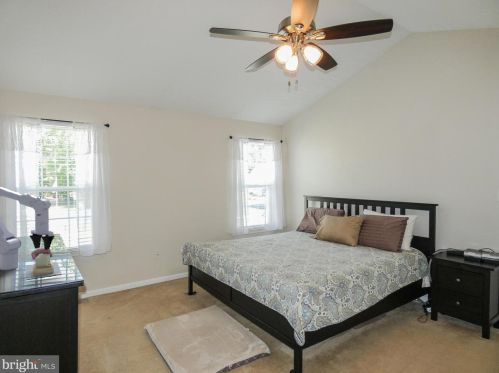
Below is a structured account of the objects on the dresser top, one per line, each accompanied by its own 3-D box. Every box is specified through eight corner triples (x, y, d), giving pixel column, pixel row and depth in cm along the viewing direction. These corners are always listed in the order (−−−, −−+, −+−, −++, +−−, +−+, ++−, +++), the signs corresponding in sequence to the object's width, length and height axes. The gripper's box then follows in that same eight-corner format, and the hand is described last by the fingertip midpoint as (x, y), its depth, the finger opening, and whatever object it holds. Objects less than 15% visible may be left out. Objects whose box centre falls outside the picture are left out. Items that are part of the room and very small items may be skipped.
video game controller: (51, 259, 179) (49, 248, 180) (53, 257, 176) (51, 245, 178) (31, 262, 171) (29, 251, 173) (33, 260, 168) (31, 248, 170)
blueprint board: (25, 267, 156) (25, 259, 156) (57, 263, 164) (57, 255, 164) (25, 280, 137) (25, 271, 137) (61, 274, 145) (61, 266, 145)
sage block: (40, 263, 148) (39, 254, 147) (50, 263, 149) (49, 254, 148) (36, 268, 144) (35, 258, 143) (46, 267, 145) (45, 258, 144)
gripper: (24, 222, 153) (24, 249, 153) (43, 224, 147) (43, 251, 148) (38, 221, 159) (38, 246, 160) (57, 222, 154) (57, 248, 154)
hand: (42, 248), depth 154 cm, fingers open, 7 cm apart
